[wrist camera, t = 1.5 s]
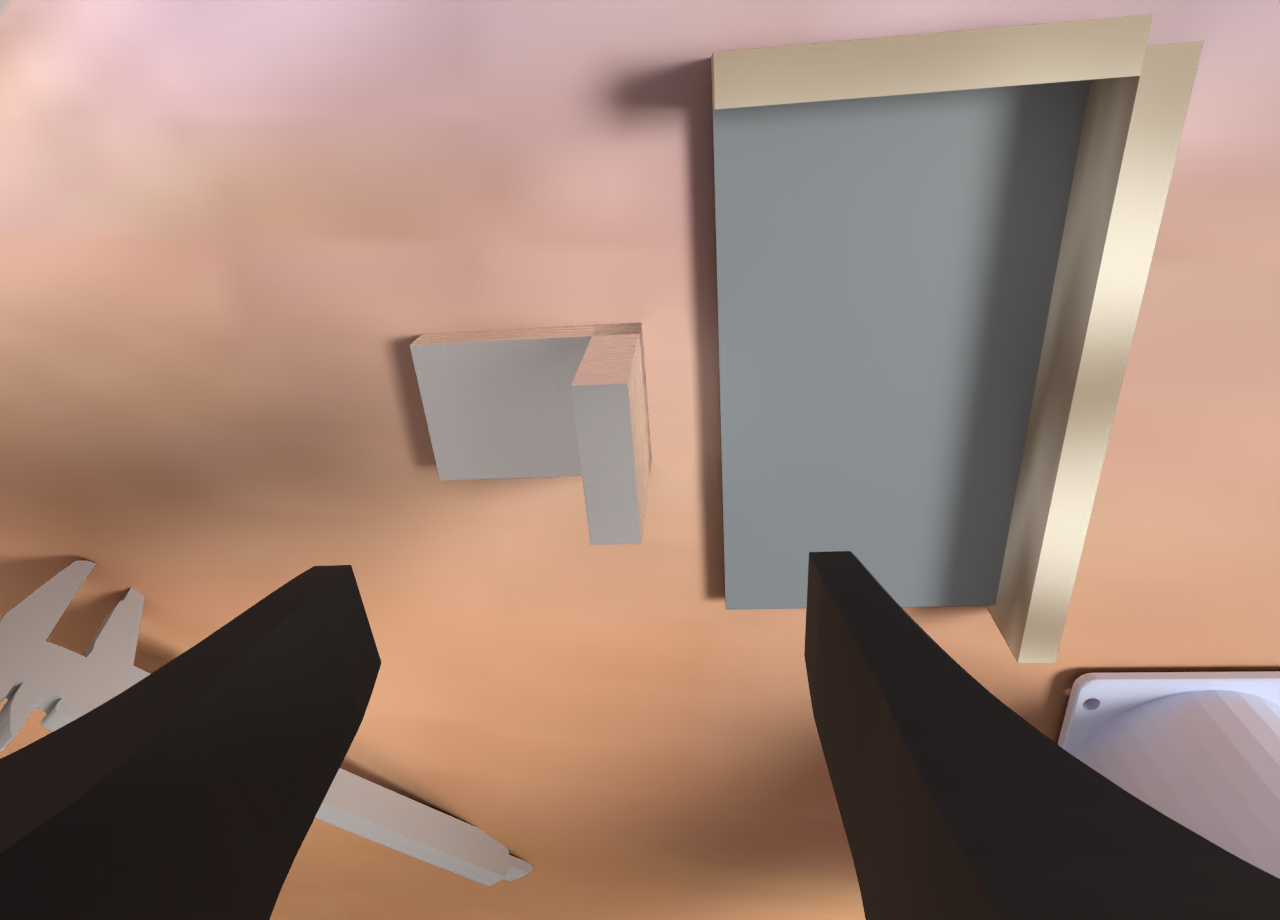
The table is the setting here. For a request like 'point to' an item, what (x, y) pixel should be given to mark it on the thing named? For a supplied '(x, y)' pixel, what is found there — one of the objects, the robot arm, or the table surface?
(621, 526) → the bracket
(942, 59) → the side wall
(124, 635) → the caliper
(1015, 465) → the board
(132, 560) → the table surface
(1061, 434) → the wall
